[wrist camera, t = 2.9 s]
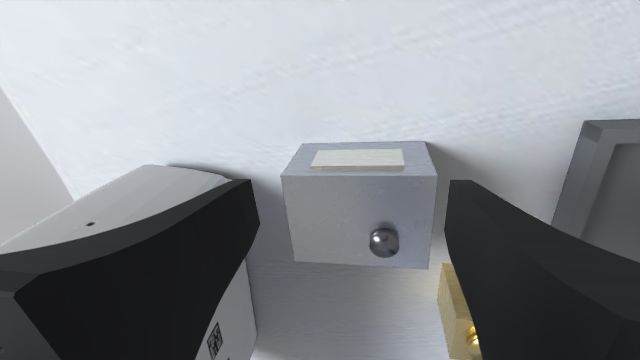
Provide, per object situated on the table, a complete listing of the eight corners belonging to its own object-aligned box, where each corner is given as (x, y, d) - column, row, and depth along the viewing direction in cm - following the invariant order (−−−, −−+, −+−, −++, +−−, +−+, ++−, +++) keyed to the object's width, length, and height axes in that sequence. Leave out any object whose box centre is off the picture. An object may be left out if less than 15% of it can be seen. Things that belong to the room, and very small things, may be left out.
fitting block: (489, 303, 24) (518, 375, 19) (437, 299, 24) (451, 367, 20) (498, 266, 22) (533, 334, 17) (441, 263, 23) (459, 327, 18)
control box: (418, 219, 21) (429, 276, 16) (310, 216, 23) (291, 268, 18) (424, 138, 19) (440, 177, 14) (301, 141, 20) (276, 177, 15)
